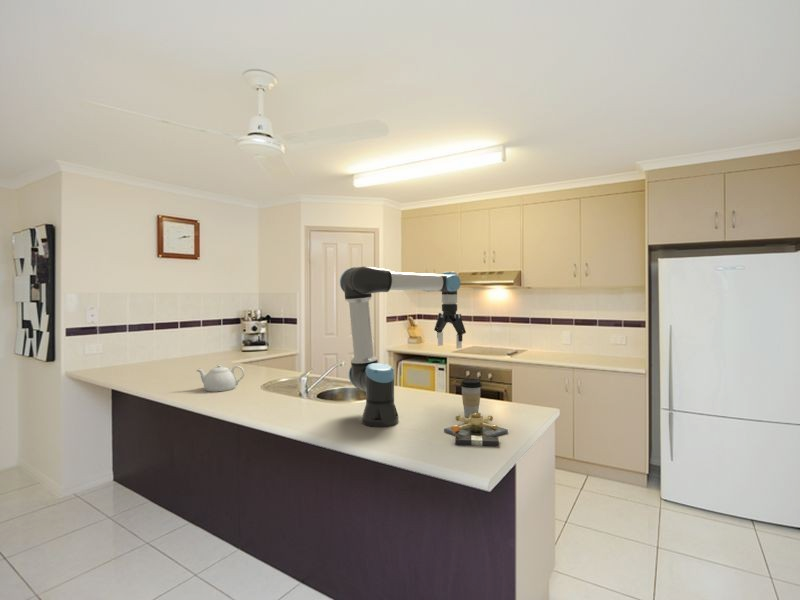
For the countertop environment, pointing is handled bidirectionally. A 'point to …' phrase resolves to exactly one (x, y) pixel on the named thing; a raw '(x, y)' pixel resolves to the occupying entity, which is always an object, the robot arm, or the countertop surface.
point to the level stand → (477, 436)
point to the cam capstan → (474, 423)
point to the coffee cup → (470, 395)
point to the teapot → (220, 378)
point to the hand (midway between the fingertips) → (449, 346)
